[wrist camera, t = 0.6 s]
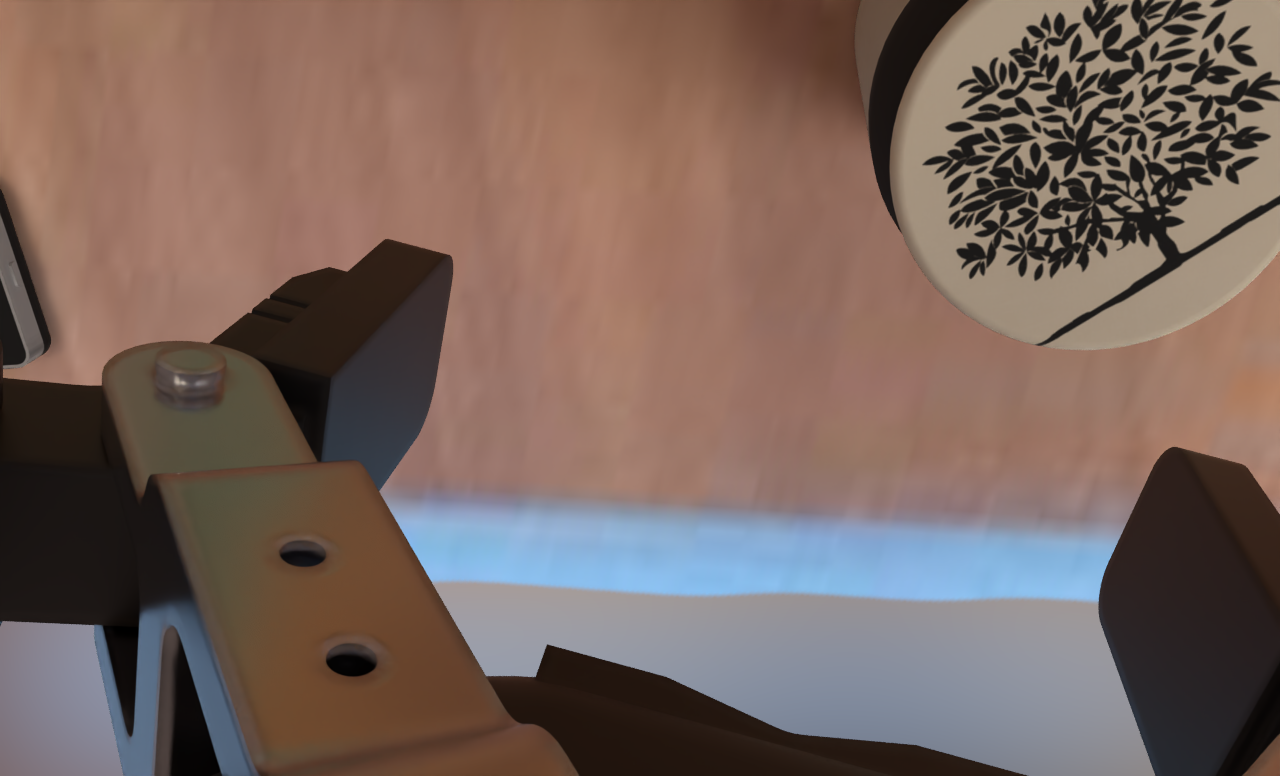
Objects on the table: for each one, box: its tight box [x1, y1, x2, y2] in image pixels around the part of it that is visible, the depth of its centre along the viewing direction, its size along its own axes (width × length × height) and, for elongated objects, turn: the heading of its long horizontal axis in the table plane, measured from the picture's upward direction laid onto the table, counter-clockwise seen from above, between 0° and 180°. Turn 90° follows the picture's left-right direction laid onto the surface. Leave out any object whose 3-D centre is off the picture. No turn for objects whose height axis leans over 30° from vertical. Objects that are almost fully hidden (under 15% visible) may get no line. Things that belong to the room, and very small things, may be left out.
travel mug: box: [854, 0, 1280, 350], centre depth 30 cm, size 8×8×18 cm
